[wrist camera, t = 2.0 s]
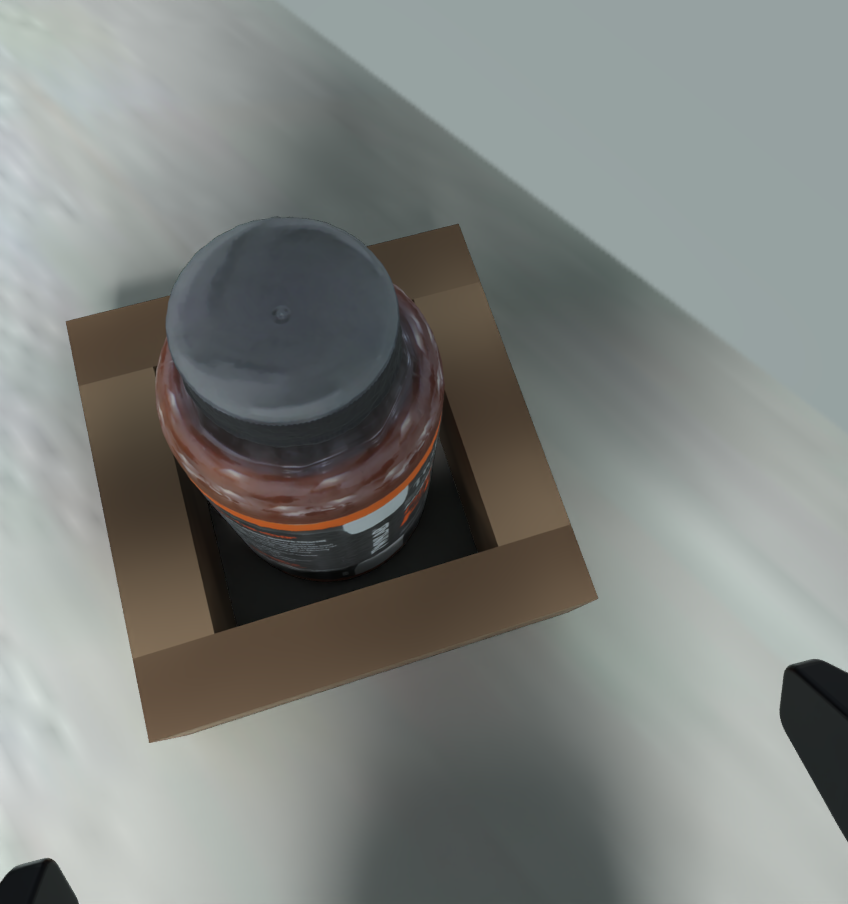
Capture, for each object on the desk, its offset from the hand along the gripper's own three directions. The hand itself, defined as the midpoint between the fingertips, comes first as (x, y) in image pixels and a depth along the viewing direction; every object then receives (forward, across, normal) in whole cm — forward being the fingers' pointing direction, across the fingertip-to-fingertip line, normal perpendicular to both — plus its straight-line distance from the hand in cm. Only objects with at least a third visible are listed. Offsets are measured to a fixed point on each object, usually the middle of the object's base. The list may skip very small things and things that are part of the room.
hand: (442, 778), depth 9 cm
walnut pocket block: (+14, +1, +4) cm, 15 cm away
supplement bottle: (+15, +1, +4) cm, 15 cm away
